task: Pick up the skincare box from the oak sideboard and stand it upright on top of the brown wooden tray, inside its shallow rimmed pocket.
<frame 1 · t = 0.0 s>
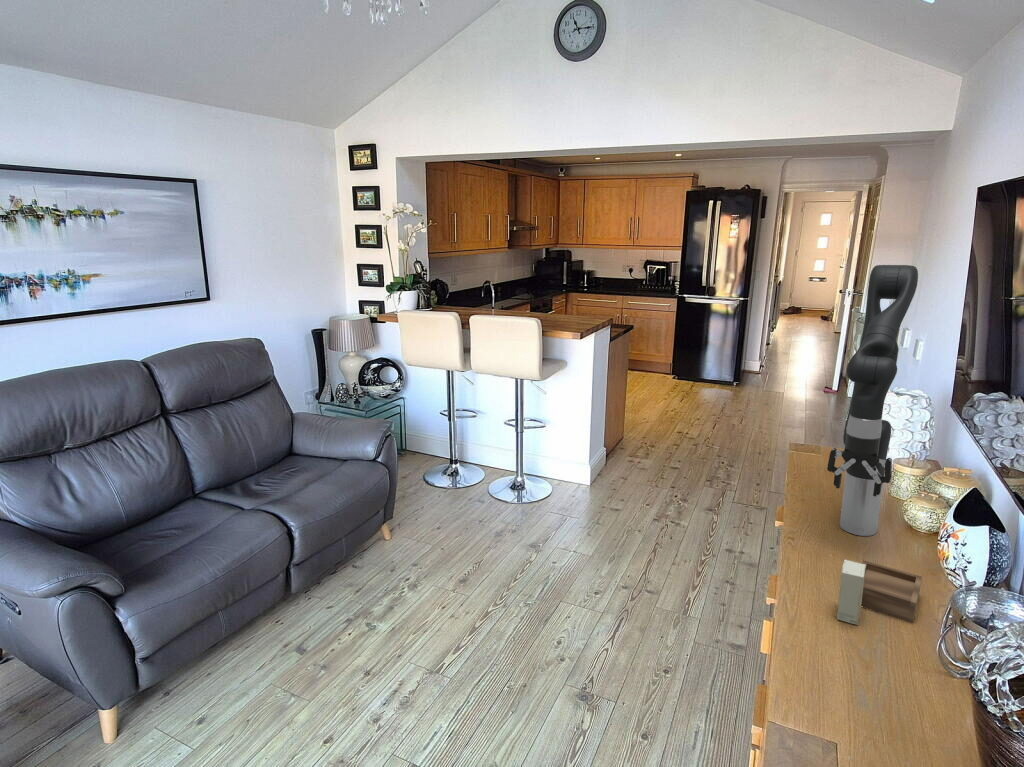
hand: (856, 491, 154), 17 cm above the sideboard, tool pointing down, fingers open, 8 cm apart
skincare box: (848, 615, 133), on the sideboard
brown wooden tray: (885, 600, 138), on the sideboard
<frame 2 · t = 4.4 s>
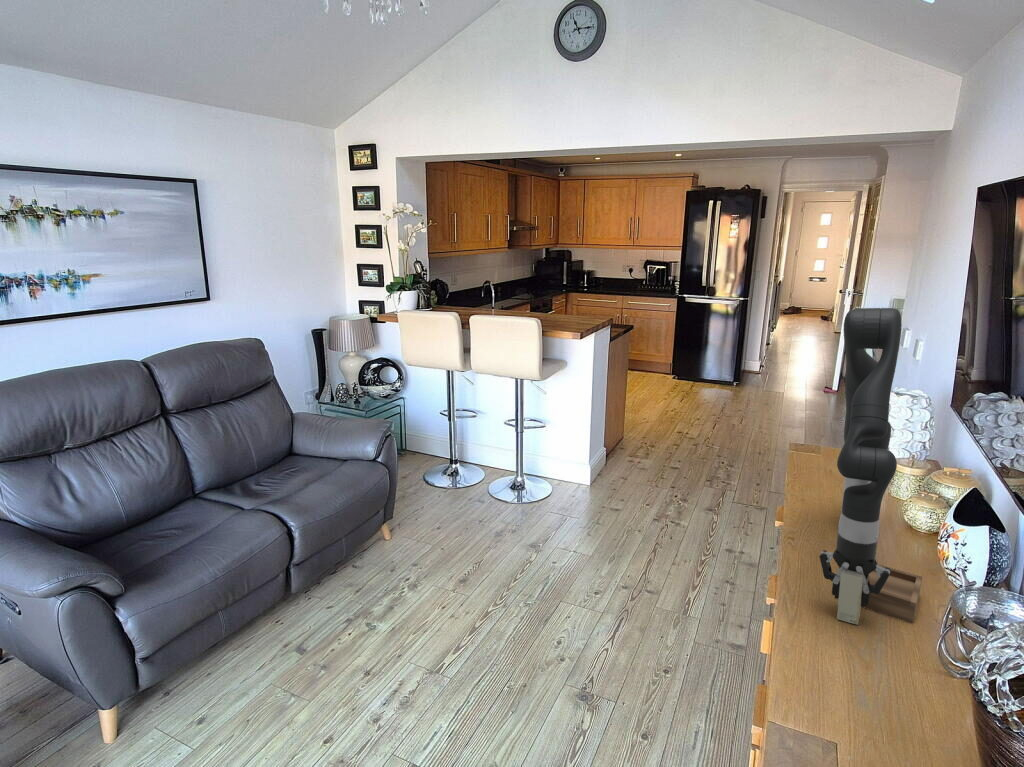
hand: (849, 600, 132), 4 cm above the sideboard, tool pointing down, fingers closed on skincare box, 4 cm apart
skincare box: (848, 615, 133), on the sideboard, touching gripper
everything else where it was.
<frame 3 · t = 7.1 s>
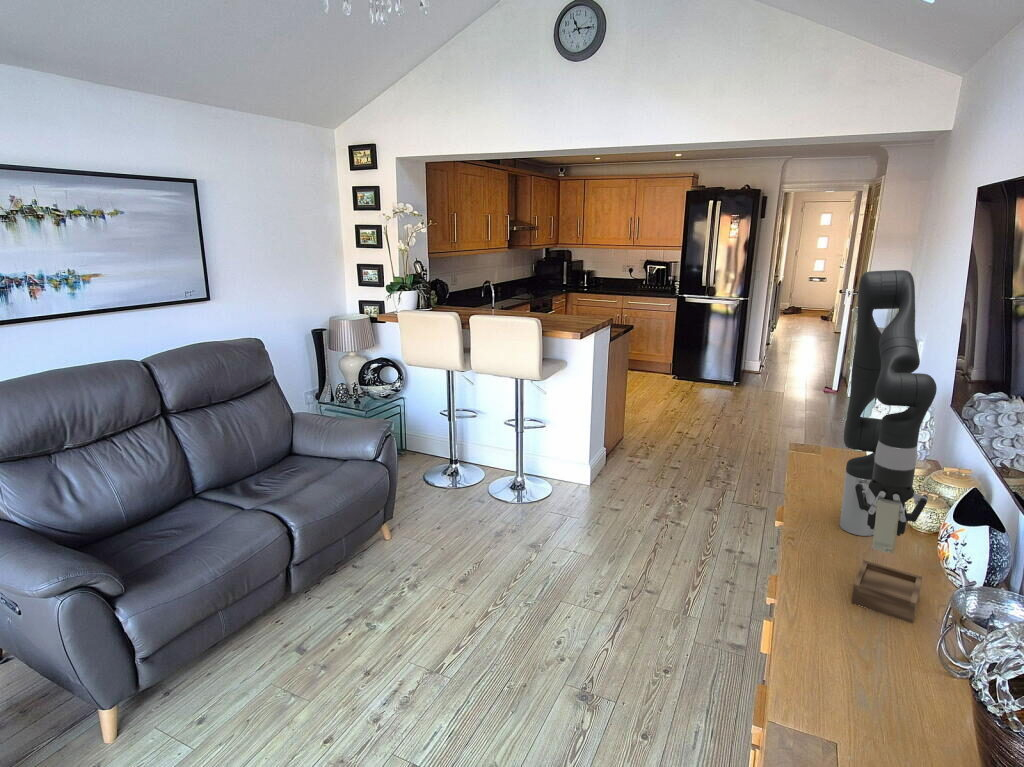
hand: (885, 530, 132), 19 cm above the sideboard, tool pointing down, fingers closed on skincare box, 4 cm apart
skincare box: (883, 546, 133), point 15 cm above the sideboard, touching gripper
everything else where it was.
when the fingers open (8 cm above the sideboard, at t = 9.8 s): skincare box stays where it is, resting on brown wooden tray.
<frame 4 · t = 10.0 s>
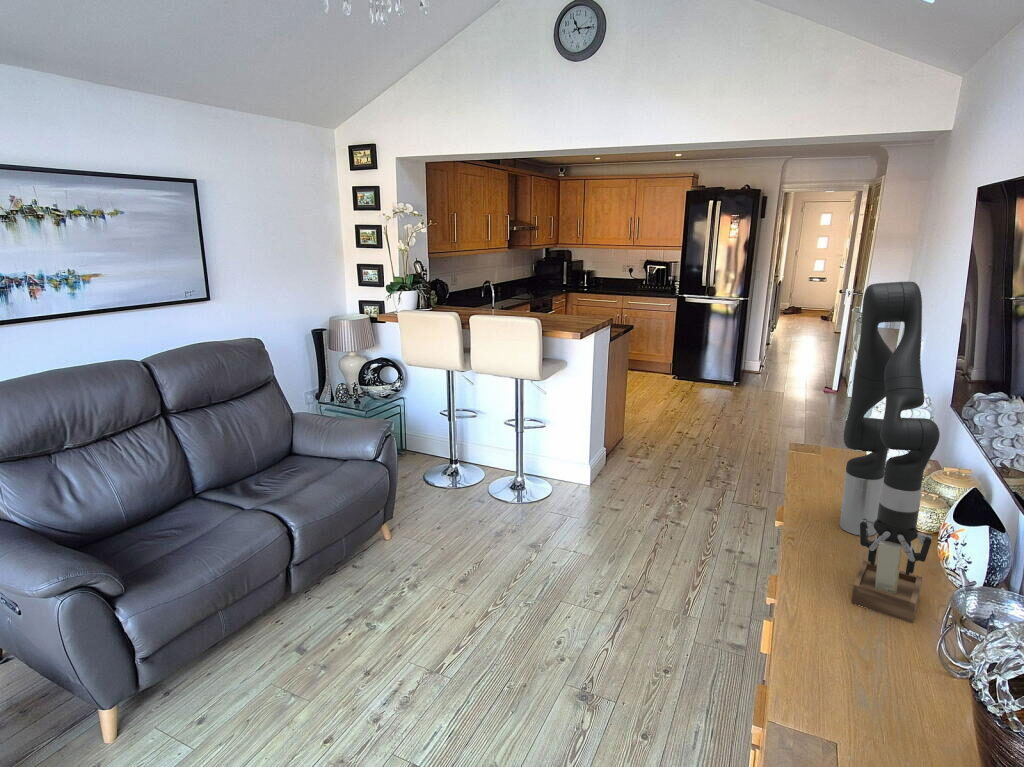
hand: (889, 568, 136), 8 cm above the sideboard, tool pointing down, fingers open, 6 cm apart
skincare box: (885, 586, 137), point 3 cm above the sideboard, touching brown wooden tray
brown wooden tray: (885, 601, 138), on the sideboard, touching skincare box
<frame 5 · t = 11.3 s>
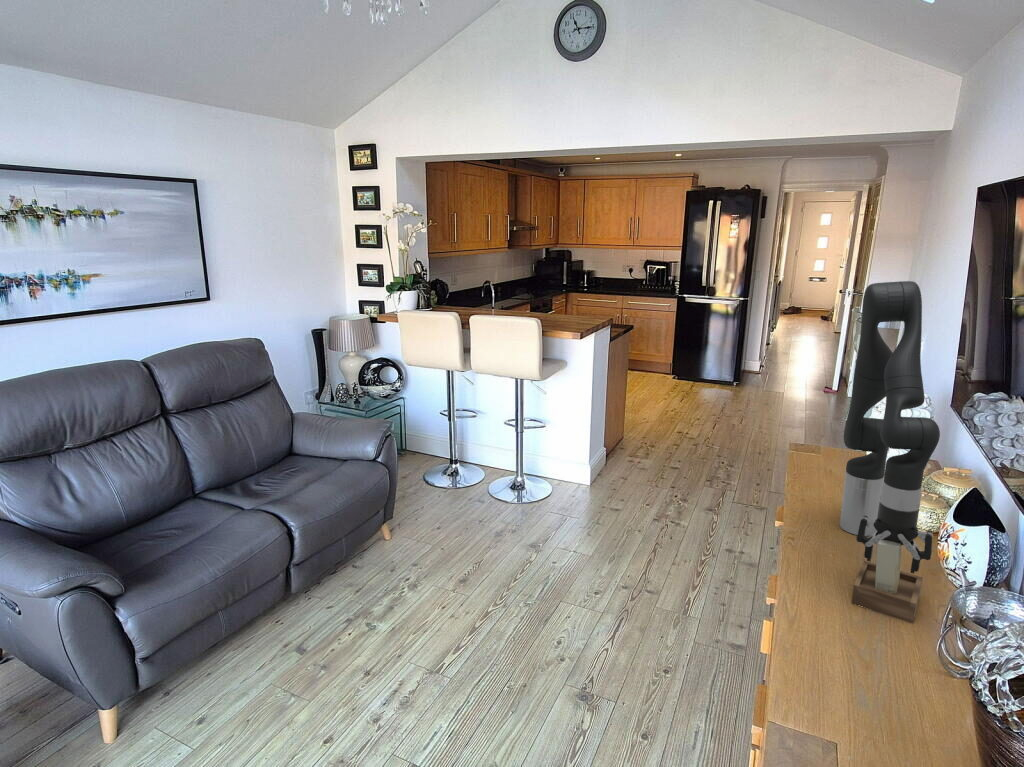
hand: (890, 565, 135), 9 cm above the sideboard, tool pointing down, fingers open, 8 cm apart
skincare box: (886, 586, 137), point 4 cm above the sideboard
brown wooden tray: (885, 601, 138), on the sideboard
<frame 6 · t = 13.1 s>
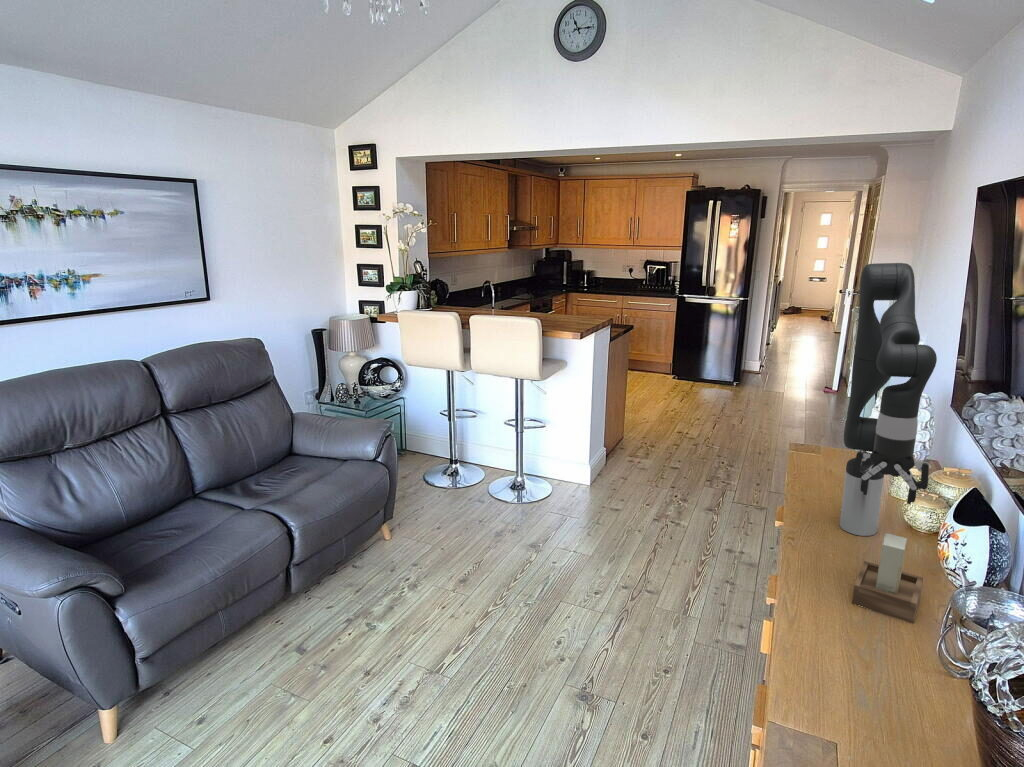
hand: (886, 498, 134), 25 cm above the sideboard, tool pointing down, fingers open, 8 cm apart
skincare box: (886, 587, 137), point 3 cm above the sideboard, touching brown wooden tray
brown wooden tray: (886, 601, 138), on the sideboard, touching skincare box
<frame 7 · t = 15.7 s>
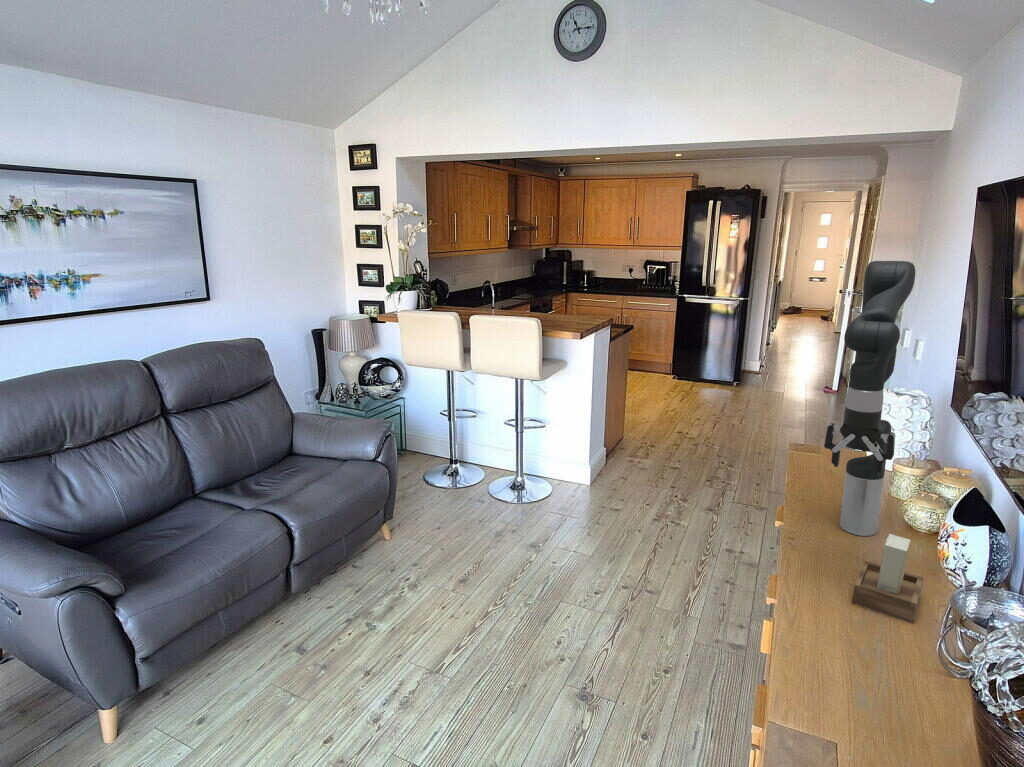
hand: (855, 469, 142), 28 cm above the sideboard, tool pointing down, fingers open, 8 cm apart
skincare box: (888, 588, 136), point 3 cm above the sideboard
brown wooden tray: (886, 601, 138), on the sideboard
at the end: skincare box 0.5 cm off-centre on the brown wooden tray, point 3.9 cm above the brown wooden tray's base; skincare box tilted 2°; skincare box moved 12.6 cm from its start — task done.
